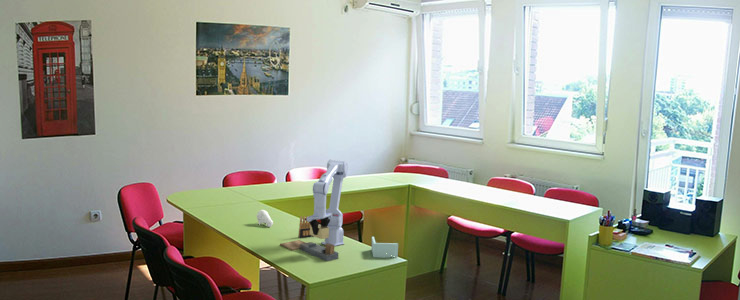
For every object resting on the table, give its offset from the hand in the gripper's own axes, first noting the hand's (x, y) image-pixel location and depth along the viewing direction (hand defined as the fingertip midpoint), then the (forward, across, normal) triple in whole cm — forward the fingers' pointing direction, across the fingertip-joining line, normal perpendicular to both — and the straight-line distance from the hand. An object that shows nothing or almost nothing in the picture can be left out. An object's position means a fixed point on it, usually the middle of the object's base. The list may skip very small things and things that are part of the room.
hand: (319, 233), depth 276 cm
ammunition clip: (+11, -15, -28) cm, 33 cm away
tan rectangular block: (+1, 0, 0) cm, 1 cm away
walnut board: (+10, 0, -18) cm, 21 cm away
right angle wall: (+11, -27, +19) cm, 35 cm away
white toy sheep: (+11, -10, -61) cm, 62 cm away
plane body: (+10, 0, 0) cm, 10 cm away
